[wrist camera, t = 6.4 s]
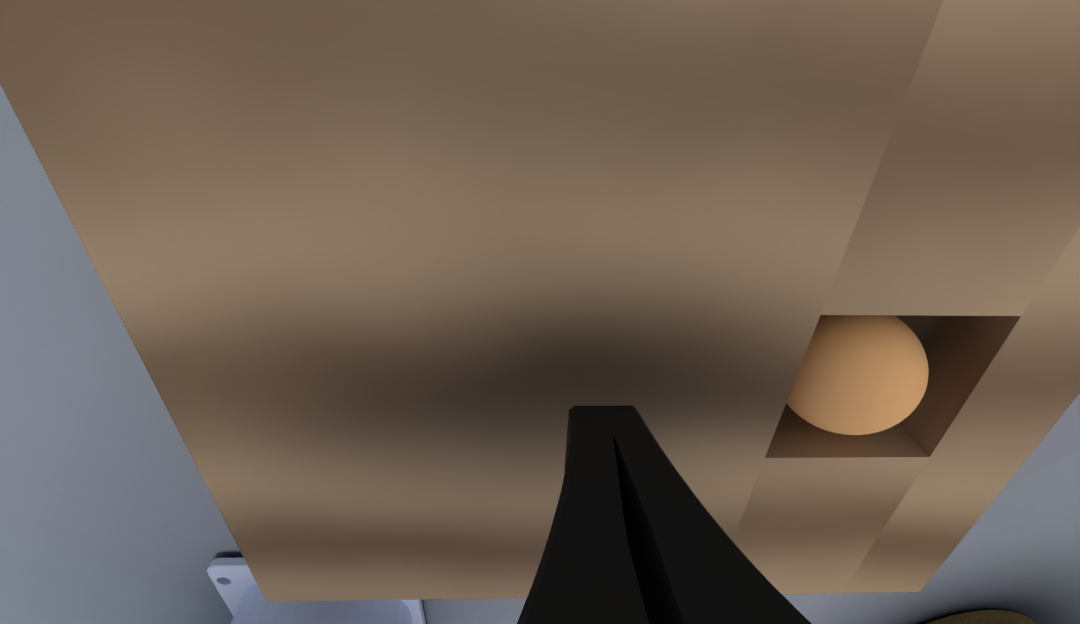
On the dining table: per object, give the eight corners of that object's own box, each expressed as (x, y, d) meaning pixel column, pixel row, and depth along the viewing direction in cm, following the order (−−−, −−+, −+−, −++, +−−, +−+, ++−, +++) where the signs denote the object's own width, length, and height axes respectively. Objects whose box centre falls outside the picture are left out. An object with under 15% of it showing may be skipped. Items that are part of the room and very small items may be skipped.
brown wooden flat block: (868, 514, 19) (919, 591, 17) (300, 520, 19) (266, 601, 16) (1210, -50, 10) (1447, -66, 7) (70, -88, 9) (-106, -122, 7)
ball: (762, 359, 16) (888, 380, 15) (760, 445, 13) (911, 478, 12) (785, 269, 14) (934, 284, 13) (787, 349, 11) (973, 378, 10)
